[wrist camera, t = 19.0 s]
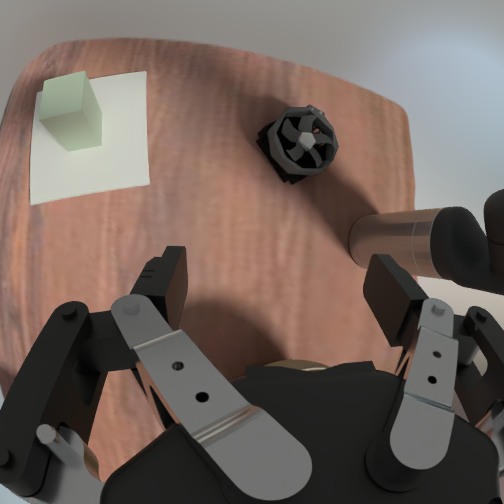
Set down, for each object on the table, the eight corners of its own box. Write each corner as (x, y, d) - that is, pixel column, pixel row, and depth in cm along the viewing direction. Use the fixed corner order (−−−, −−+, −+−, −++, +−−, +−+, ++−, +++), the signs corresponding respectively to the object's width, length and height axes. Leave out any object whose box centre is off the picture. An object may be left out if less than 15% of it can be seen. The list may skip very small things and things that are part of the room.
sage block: (102, 113, 34) (85, 70, 22) (101, 145, 34) (81, 110, 23) (70, 119, 32) (44, 80, 21) (69, 151, 33) (38, 120, 21)
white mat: (146, 72, 36) (146, 70, 35) (149, 185, 37) (149, 184, 36) (38, 93, 31) (37, 92, 30) (32, 205, 32) (30, 204, 31)
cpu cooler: (302, 186, 38) (259, 122, 36) (285, 192, 43) (246, 136, 41) (351, 152, 40) (313, 95, 38) (331, 160, 45) (297, 109, 43)
